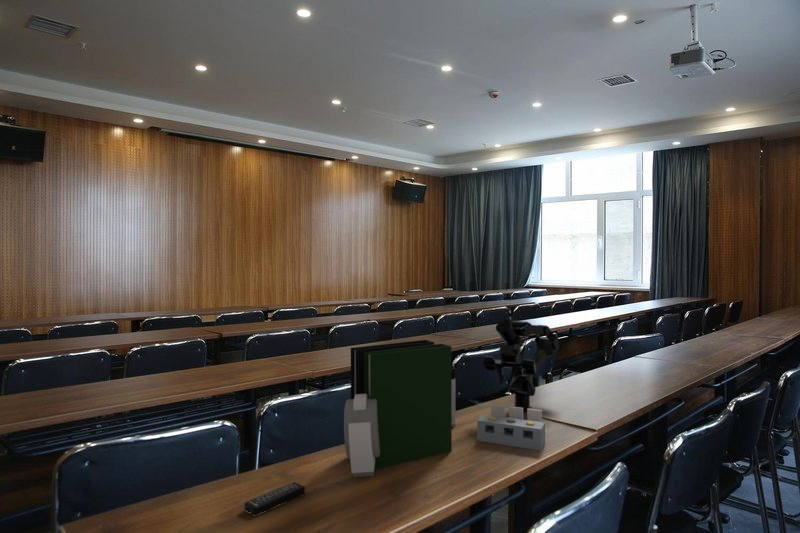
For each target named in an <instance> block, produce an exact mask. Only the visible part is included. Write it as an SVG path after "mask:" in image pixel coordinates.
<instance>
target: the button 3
mask: <svg viewBox="0 0 800 533" xmlns="http://www.w3.org/2000/svg"><path fill="white" fill-rule="evenodd" d="M526 414H527V415H526V418H527V419H526V420H530V421H537V422H543V411H542V409H536V408H532V409H529V408H528V409H527V412H526ZM528 433H530V434H532V433H533V431H528Z"/></svg>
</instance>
